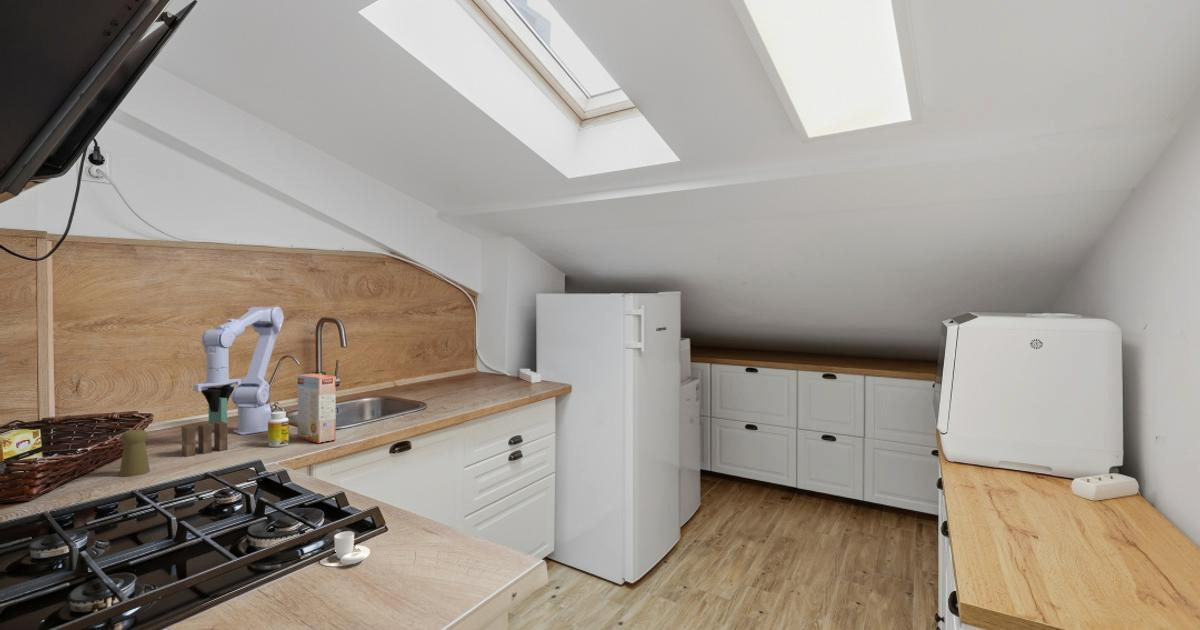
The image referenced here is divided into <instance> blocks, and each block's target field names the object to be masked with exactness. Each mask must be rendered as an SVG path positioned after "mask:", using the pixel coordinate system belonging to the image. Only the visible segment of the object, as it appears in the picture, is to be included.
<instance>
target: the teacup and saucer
mask: <svg viewBox="0 0 1200 630" xmlns="http://www.w3.org/2000/svg"><path fill="white" fill-rule="evenodd" d="M333 539H334V549H335V552H336V553H335V555H336V558H337V559H339V561H340V563H336V562H331V563H328V562H326V561H320V562H319V564H321V565H322V566H324V567H334V568H335V567H337V568H338V567H339V568H340V567H346V566H350V565H353V564H357V563H360V562H361V561H364V560H365V559H366V558H368V557H369V556H370V554H371V550H370V548H368V547H367V546H364V545H356V544H355V532H353V531H349V530H348V531H347V530H346V531H342V532H339V533H336V534H335V535H334V536H333ZM354 544H355V545H356V547H355V548H356V549H358V548H359V549H360V550H361V551H354V550H353V546H354Z"/></svg>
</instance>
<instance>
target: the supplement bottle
mask: <svg viewBox="0 0 1200 630" xmlns="http://www.w3.org/2000/svg"><path fill="white" fill-rule="evenodd" d="M286 413H287V412H286V411H283V410H282V411H281V410H280V411H278V410H277V411H273V412H272V411H271V419H269V420H268V431H267V446H269V447H270V448H279V447H280V448H281V447H285V446H287V445H288V444H289V442H290V441H289V440H290V439H289V437H290V435H289V433H290V432H289V430H290V429H289V424H290V423H289V421H290V420H289V418H288V417H287V414H286Z"/></svg>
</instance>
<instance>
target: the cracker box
mask: <svg viewBox="0 0 1200 630" xmlns="http://www.w3.org/2000/svg"><path fill="white" fill-rule="evenodd" d="M336 387H337V376H335V375H327V374H321V373H314V372H313V373H304V374H298V375H297V438H298V439H301V440H304V439H306V440H305V441H308V440H310V441H309V442H311V441H313V442H312V443H315V442H316V444H318V443H319V444H322V443H321V442H324V441H330V440H335V441H336V417H337V415H336V413H337V411H336V398H337V397H336V396H337V395H336V392H337V390H336V389H337V388H336ZM330 442H331V441H330Z"/></svg>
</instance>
